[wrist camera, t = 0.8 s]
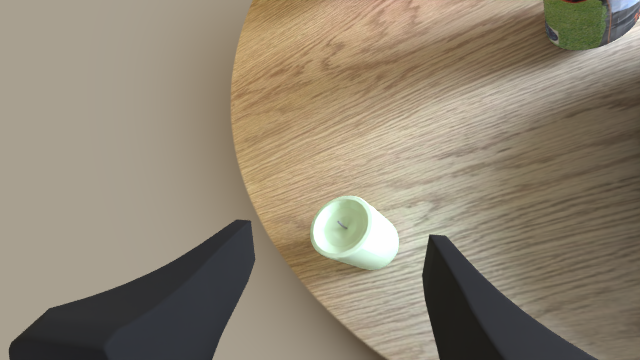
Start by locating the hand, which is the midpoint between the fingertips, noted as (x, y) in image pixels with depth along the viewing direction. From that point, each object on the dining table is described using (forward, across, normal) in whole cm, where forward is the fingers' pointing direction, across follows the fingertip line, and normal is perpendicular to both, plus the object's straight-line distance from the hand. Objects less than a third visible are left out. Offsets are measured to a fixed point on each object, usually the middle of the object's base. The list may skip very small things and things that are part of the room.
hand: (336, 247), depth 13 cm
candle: (+14, -2, +10) cm, 18 cm away
